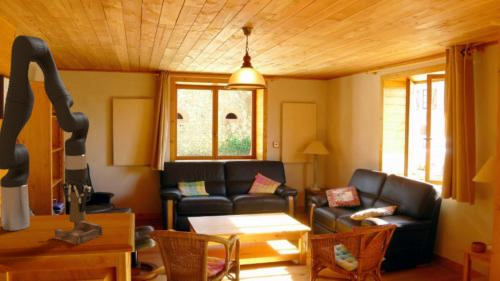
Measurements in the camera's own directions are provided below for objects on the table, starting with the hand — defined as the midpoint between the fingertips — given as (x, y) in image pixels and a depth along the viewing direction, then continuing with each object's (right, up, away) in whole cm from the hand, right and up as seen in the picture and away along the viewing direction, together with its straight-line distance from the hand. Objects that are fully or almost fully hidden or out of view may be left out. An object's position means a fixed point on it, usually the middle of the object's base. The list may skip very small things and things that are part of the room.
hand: (77, 211), depth 152 cm
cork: (0, -3, +1) cm, 3 cm away
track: (0, -10, +1) cm, 10 cm away
